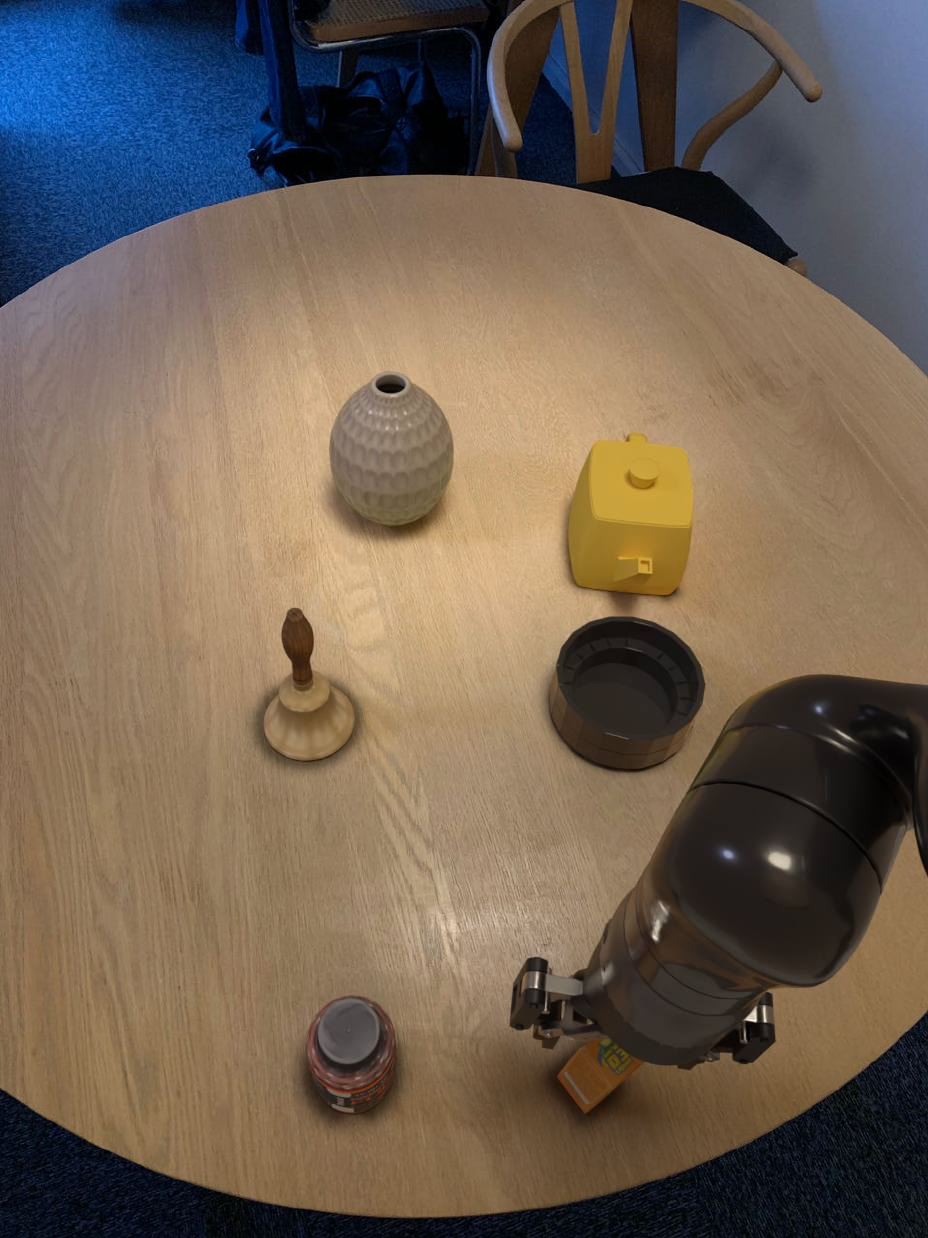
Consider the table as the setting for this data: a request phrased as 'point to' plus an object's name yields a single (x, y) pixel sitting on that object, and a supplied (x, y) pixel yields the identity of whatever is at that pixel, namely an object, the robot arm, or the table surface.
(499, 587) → the table surface
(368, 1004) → the supplement bottle
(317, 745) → the hand bell
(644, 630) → the bowl
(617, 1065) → the supplement box
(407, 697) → the table surface
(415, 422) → the vase
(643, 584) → the teapot
